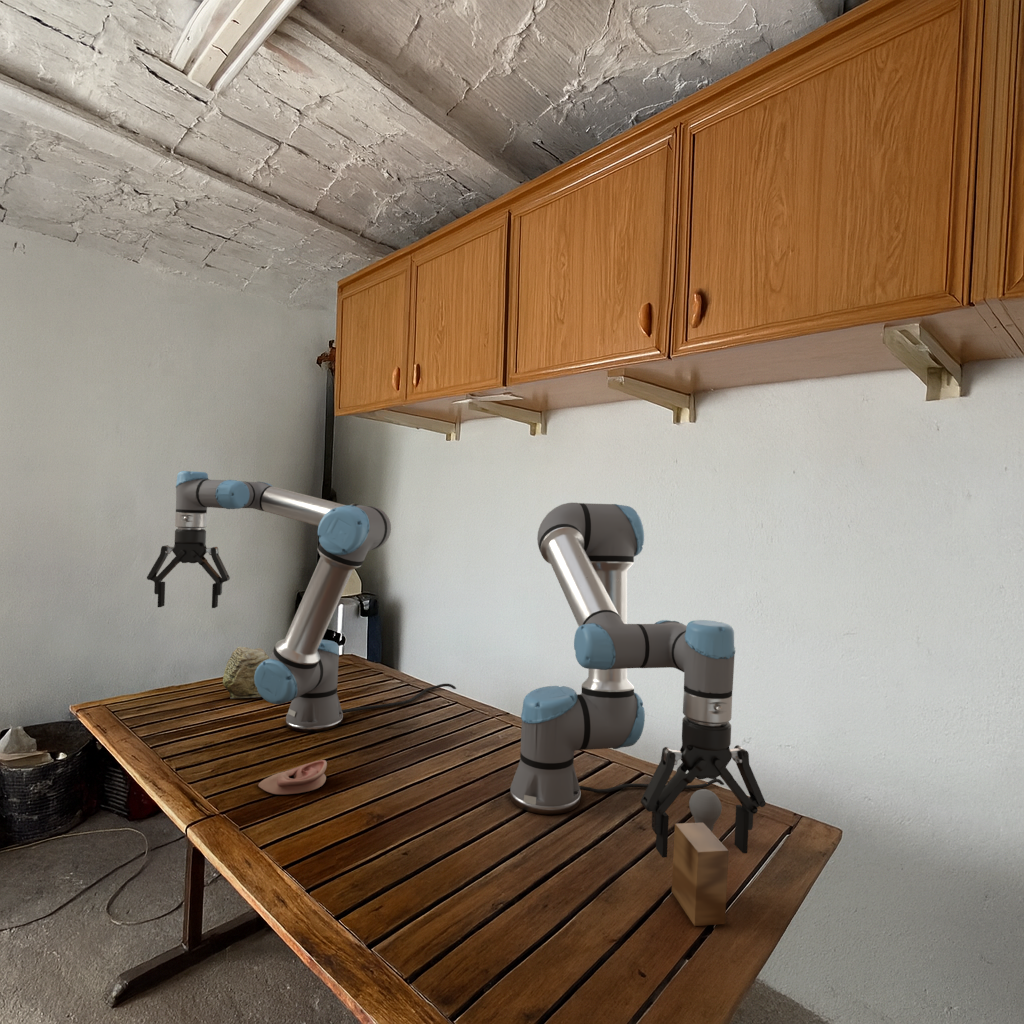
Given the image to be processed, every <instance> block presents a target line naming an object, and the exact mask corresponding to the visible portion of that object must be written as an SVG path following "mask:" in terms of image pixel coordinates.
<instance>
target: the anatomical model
mask: <svg viewBox="0 0 1024 1024" xmlns="http://www.w3.org/2000/svg"><path fill="white" fill-rule="evenodd" d="M327 768H328V763H327V760H325V759H320V760H315V761H312V762H308V763H305V764H302V765H299V766H297V767H294V768H291V769H288V770H286V771H281V772H278V773H275V774H273V775H270V776H267V777H266V778H264V779H263V780H261V781H260V782H259V783H258V784H257V786H258V787H259V788H260V789H261V790H263V791H264V792H267V793H269V794H271V795H295V794H301V793H306V792H307V793H308V792H310V791H315V790H317V789H319V788H320V787H322V786H323V785H324V784H325V783H326V780H327V776H326V774H325V772H326V770H327Z"/></svg>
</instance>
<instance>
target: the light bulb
mask: <svg viewBox="0 0 1024 1024" xmlns="http://www.w3.org/2000/svg"><path fill="white" fill-rule="evenodd" d="M688 802H689V803H688V806H689V811H690V813H691V815H692V817H693V820H694V823H704V824H705V825H706V826H707V827H708V828H709V830H710V831H711V832H713V830H714V826H715V824H716V822H717V821H718V820H719V819H720V816H721V815H722V810H723V805H722V802H721V800H720V798H719V796H718V795H717V794H716V793H715V792H714V791H713V790H710V789H706V788H699V789H696V791H694V792H693V793H692V794H691V796H690V797H689V801H688Z"/></svg>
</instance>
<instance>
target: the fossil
mask: <svg viewBox="0 0 1024 1024" xmlns="http://www.w3.org/2000/svg"><path fill="white" fill-rule="evenodd" d="M269 658H270V656H269V655H268V654H267V653H266V652H265V650H264V649H263V648H260V647H258V648H251V647H247V646H246V647H245V646H238V647H237V648H236V649H235V650H233V651H232V653H231V656H230V657H229V659H228V660H227V663H226V666H225V668H224V671H223V675H222V676H223V677H222V685H223V687H224V688H225V690H226V691H228V693H229V698H230V699H250V698H262V697H261V695H260V694H259V693H258V691H257V687H256V686H255V681H254V676H255V671H256V669H257V667H258V666H259V665H260V664H261V663H262V662H263V661H265V660H267V659H269Z"/></svg>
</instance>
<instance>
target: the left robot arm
mask: <svg viewBox="0 0 1024 1024" xmlns="http://www.w3.org/2000/svg"><path fill="white" fill-rule="evenodd" d="M175 495H176V497H175V520H174V521H175V522H174V526H175V528H176V529H175V530H174V545H173V546H170V545H169V544H168V545H162V546H161V547H160V552H159V555H158V557H157V559H156V560H155V562H154V564H153V565H152V567H151V569H150V571H149V573H148V574H147V576H146V580H148V581H151V582H153V584H154V585H153V586H154V591H153V592H154V595H157V608H162V607H165V603H166V602H165V601H166V600H165V599H166V581H163V580H164V579H165V578H166V577H167V576H168V575H169V574H170V573H171V572H172V571H173V569H175V568H176V567H177V565H179V564H180V563H182V564H187V563H189V564H197V563H198V565H199V566H201V567H202V569H203V570H204V571H205V572H206V573H207V574H208V576H209V577H210V578H211V579H212V580H213V582H214V583H212V588H211V589H212V590H211V609H216V608H218V606H219V596H221V595H222V594H223V584H224V582H228V581H230V579H231V577H230V575H229V572H228V570H227V568H226V567H225V564H224V562H223V560H222V558H221V557H220V553H219V547H218V546H213V547H207V545H206V542H207V530H206V527H207V516H208V515H207V514H208V513H207V512H208V508H213V509H214V508H215V509H225V510H239V509H253V510H257V511H261V512H266V513H270V514H273V515H276V516H281V517H284V518H286V519H287V518H288V519H291V520H295V521H298V522H301V523H305V524H309V525H311V526H316V527H317V536H318V542H319V544H318V546H317V552H318V554H319V556H320V557H319V559H318V562H317V565H316V567H315V569H314V571H313V573H312V575H311V578H310V580H309V582H308V585H307V587H306V589H305V591H304V594H303V596H302V599H301V601H300V603H299V605H298V608H297V609H296V611H295V614H294V616H293V618H292V621H291V623H290V626H289V628H288V630H287V632H286V635H285V637H284V638H282V639H280V640H278V641H276V643H275V645H274V647H273V650H272V652H271V654H270V656H269V659H267V660H265V661H263V662H262V663H261V664H260V665H259V666H258V667H257V669H256V671H255V676H254V681H255V686H256V687H257V691H258V693H259V694H260V695H261V697H260V698H262V699H263V700H264V701H266V702H268V703H269V704H273V705H282V704H286V703H290V704H289V708H288V711H287V713H286V715H285V726H286V728H287V729H289V730H291V731H294V732H295V731H296V732H301V733H316V732H325V731H329V730H332V729H335V728H337V727H339V726H340V725H342V723H343V722H344V714H345V713H351V712H353V713H354V712H358V711H367V710H374V709H382V708H388V707H389V708H390V707H395V706H400V705H406V704H409V703H411V702H413V701H415V700H417V699H418V698H420V697H421V696H423V695H425V693H427V692H429V691H433V690H436V689H439V688H444V687H448V688H451V689H452V690H456V689H457V687H456V686H455V685H453V684H451V683H441V684H437V685H433V686H430V687H427V688H424V689H423V690H421V691H420V692H419V693H417V694H416V695H414V696H413V697H411V698H409V699H406V700H405V699H404V700H402V701H396V702H389V703H382V704H374V705H367V706H366V705H365V706H359V707H353V708H345V709H342V706H341V702H340V699H339V695H338V682H339V662H340V661H339V660H340V652H339V648H340V646H339V644H338V643H337V641H336V642H335V641H334V640H328V639H324V636H325V634H326V632H327V629H328V627H329V625H330V623H331V620H332V619H333V616H334V613H335V611H336V610H337V607H338V604H339V602H340V600H341V598H342V596H343V593H344V591H345V589H346V586H347V584H348V582H349V580H350V578H351V576H352V574H353V571H354V570H356V569H358V568H360V567H362V566H363V563H364V561H365V559H366V557H367V555H368V552H369V551H375V550H376V549H379V548H380V547H382V546H384V545H385V544H386V543H387V541H388V539H389V538H390V536H391V532H392V524H391V523H392V522H391V520H390V518H389V517H388V515H387V513H386V512H385V511H384V510H383V509H381V508H379V507H376V506H373V505H372V506H371V505H362V504H358V503H351V504H349V505H348V504H342V503H339V502H335V501H332V500H329V499H328V500H327V499H324V498H320V497H317V496H312V495H309V494H304V493H300V492H296V491H293V490H289V489H285V488H281V487H277V486H274V485H272V484H271V483H268V482H264V481H245V480H236V479H209V474H208V473H207V472H205V471H189V470H181V471H179V472H178V473H177V477H176V484H175ZM171 553H173V554H174V557H173V558H172V559H171V561H170V562H169V563H168V564H167V565H166V566H165V567H164V568H163V569H162V570H161V568H162V566H163V564H164V563H165V561H166V559H167V558H168V556H169V555H170V554H171ZM207 553H208V555H209V556H211V559H212V561H213V563H214V565H215V567H216V569H217V571H218V572H217V571H216V569H215V568H214V567H213V566H212V565H211V564H210V563H209V561H208V559H207V558H206V557H205V555H206V554H207ZM160 570H161V571H160ZM159 571H160V573H159ZM158 573H159V574H158Z"/></svg>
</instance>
